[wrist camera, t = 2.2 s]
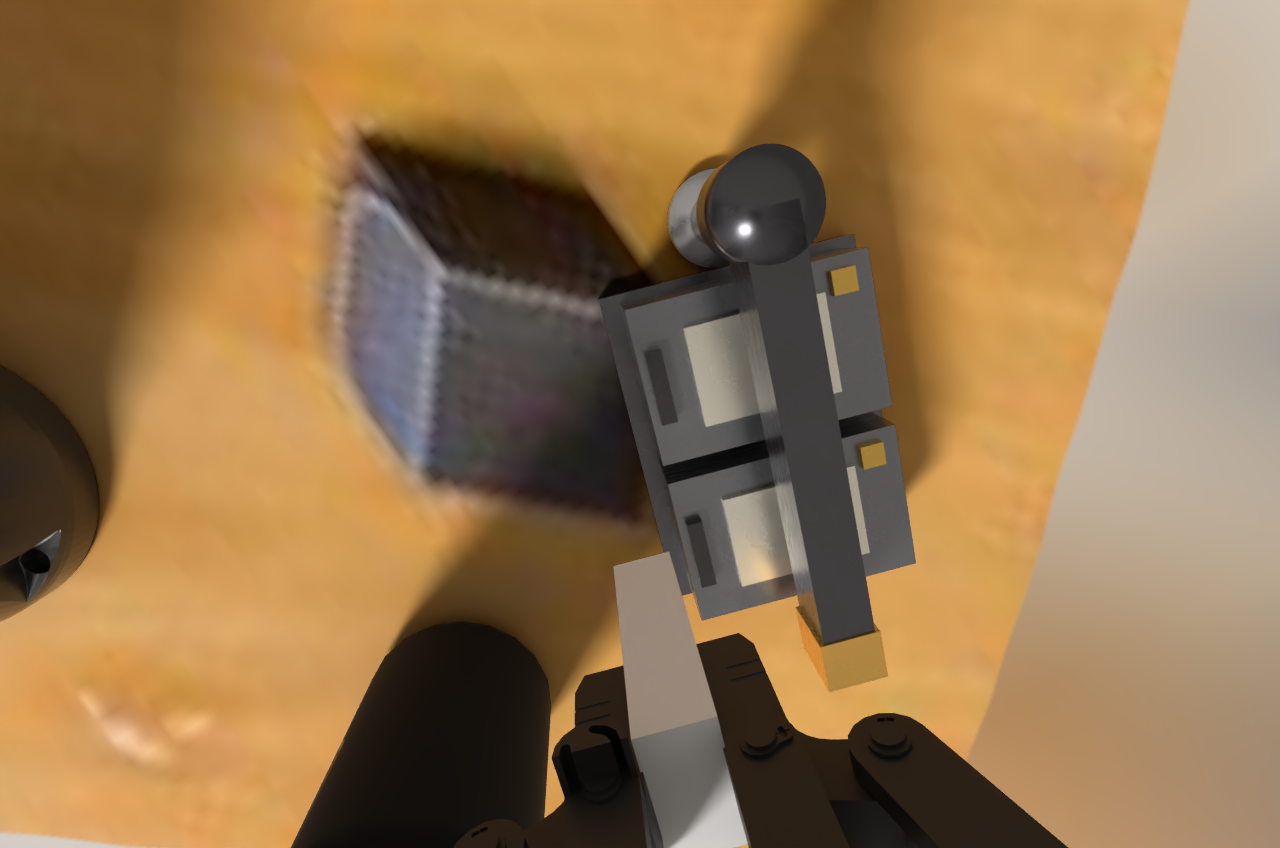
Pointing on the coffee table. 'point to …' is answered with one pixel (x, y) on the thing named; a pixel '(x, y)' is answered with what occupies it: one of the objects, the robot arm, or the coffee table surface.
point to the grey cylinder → (690, 224)
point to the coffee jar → (438, 745)
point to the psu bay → (750, 427)
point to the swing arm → (796, 395)
